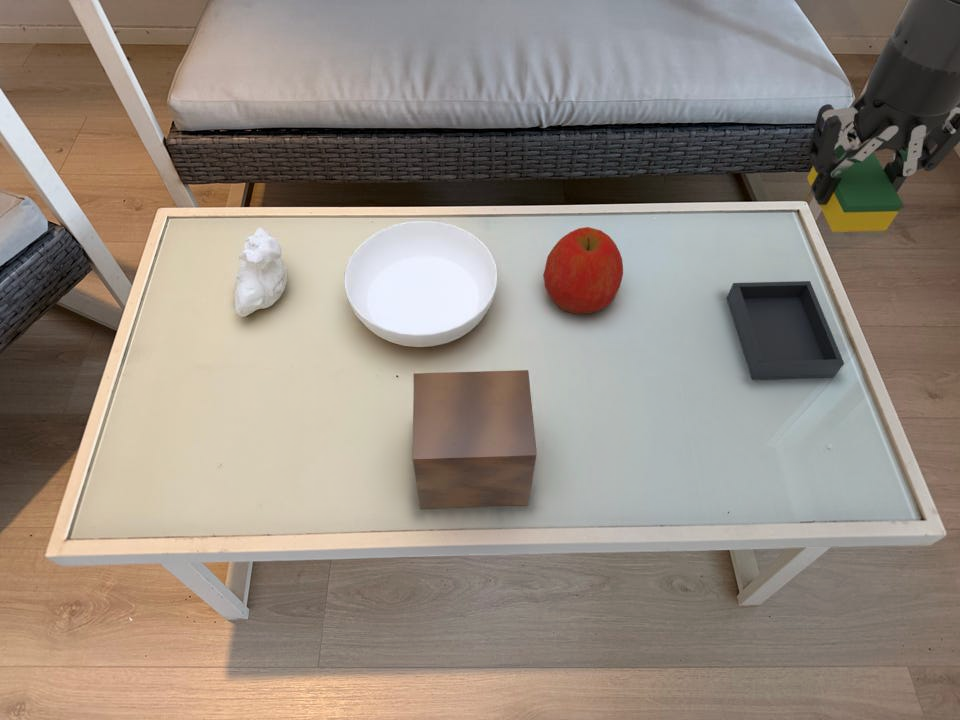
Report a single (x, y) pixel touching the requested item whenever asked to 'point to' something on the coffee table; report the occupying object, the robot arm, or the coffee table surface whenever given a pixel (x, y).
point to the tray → (783, 330)
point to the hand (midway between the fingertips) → (849, 198)
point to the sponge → (861, 198)
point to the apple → (583, 271)
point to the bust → (259, 274)
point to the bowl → (421, 283)
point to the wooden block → (473, 439)
